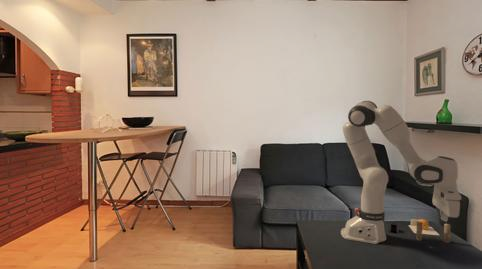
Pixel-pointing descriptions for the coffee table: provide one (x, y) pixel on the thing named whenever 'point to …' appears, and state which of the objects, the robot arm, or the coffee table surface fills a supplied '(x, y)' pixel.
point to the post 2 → (447, 233)
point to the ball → (424, 223)
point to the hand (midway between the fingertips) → (444, 220)
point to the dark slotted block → (393, 228)
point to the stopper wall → (414, 222)
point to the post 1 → (419, 231)
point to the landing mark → (424, 230)
